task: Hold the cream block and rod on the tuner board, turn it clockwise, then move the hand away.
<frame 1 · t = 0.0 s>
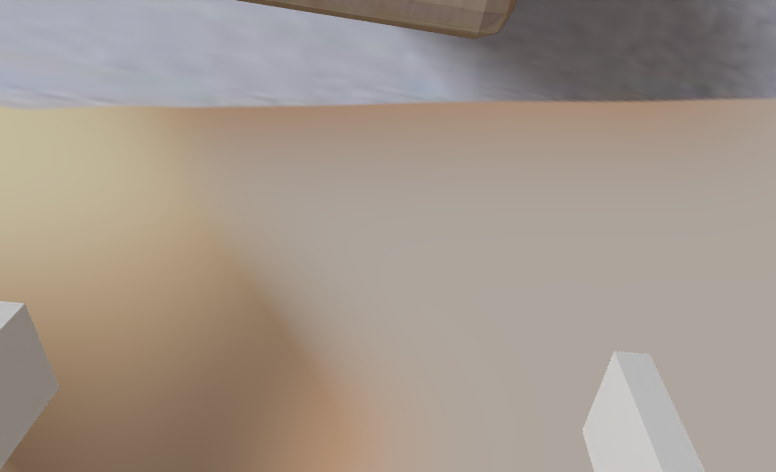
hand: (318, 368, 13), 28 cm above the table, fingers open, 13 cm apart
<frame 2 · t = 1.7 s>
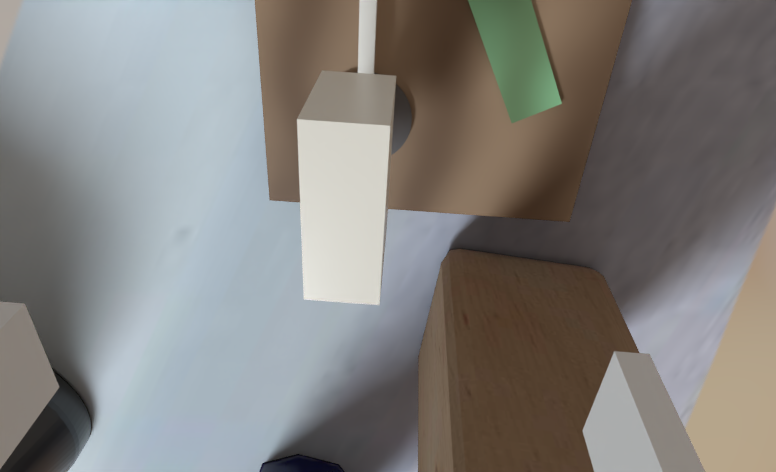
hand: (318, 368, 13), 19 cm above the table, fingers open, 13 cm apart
tuner board: (433, 45, 26), on the table
cream block and rod: (357, 84, 20), point 8 cm above the table, hinge at 0.0°
wooden block: (503, 310, 36), on the table
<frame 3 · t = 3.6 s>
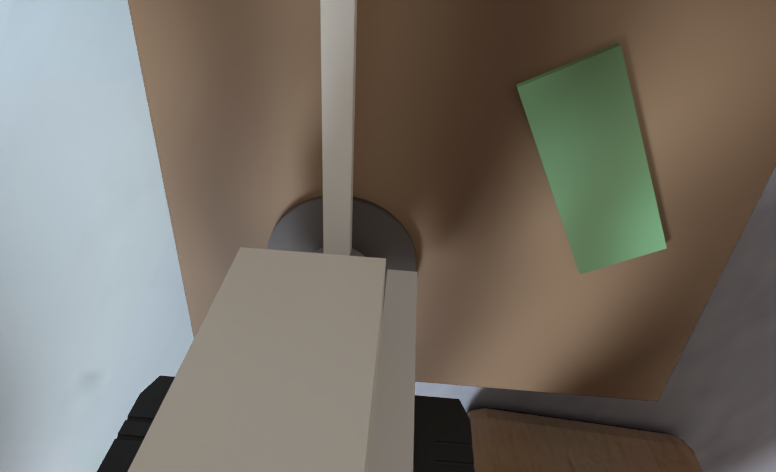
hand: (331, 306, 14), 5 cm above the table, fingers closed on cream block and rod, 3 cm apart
tuner board: (451, 141, 16), on the table
cream block and rod: (308, 280, 10), point 8 cm above the table, hinge at 0.0°, touching gripper
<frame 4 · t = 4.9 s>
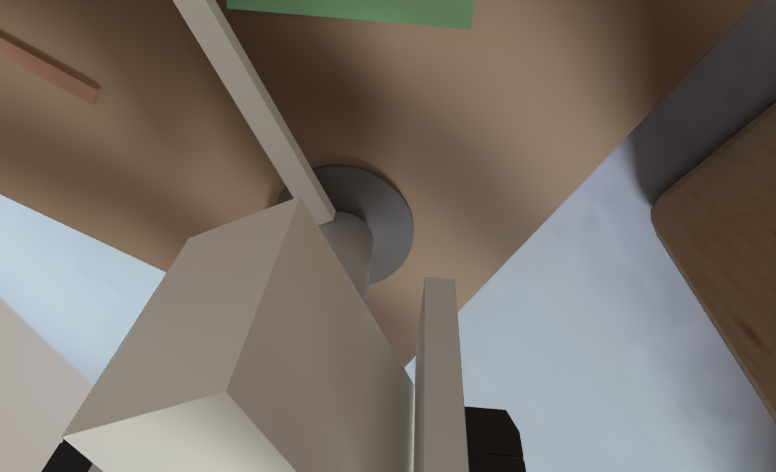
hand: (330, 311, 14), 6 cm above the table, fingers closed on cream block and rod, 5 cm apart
tuner board: (316, 71, 17), on the table
cream block and rod: (241, 241, 11), point 8 cm above the table, hinge at -34.2°, touching gripper
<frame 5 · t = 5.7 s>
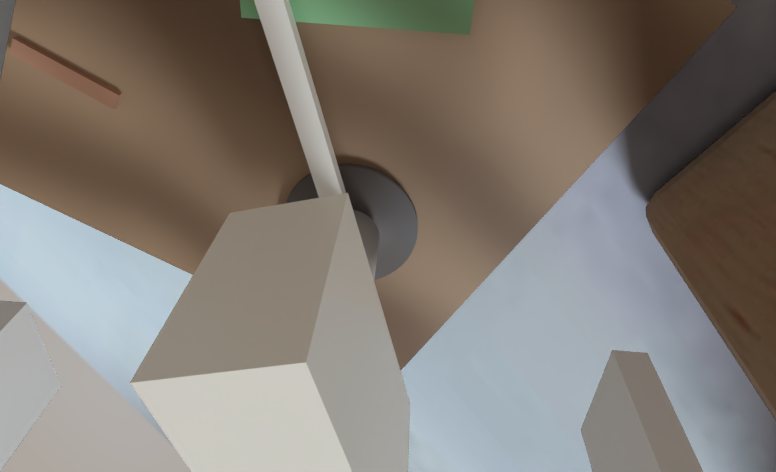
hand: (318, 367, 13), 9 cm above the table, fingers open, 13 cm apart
tuner board: (323, 76, 18), on the table
cream block and rod: (285, 225, 12), point 8 cm above the table, hinge at -46.2°
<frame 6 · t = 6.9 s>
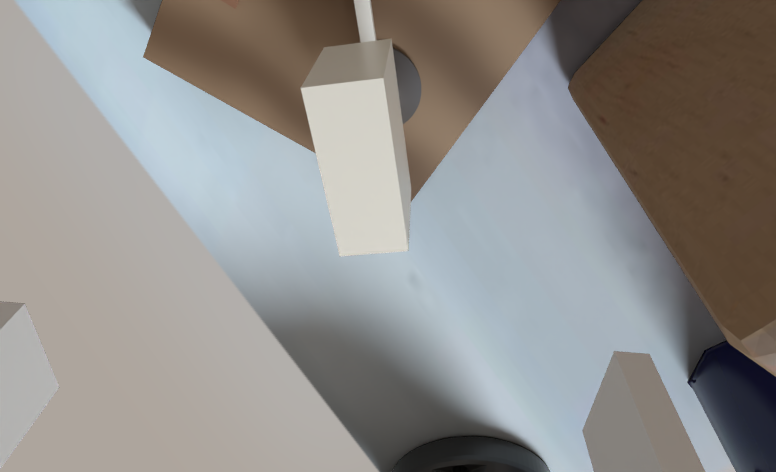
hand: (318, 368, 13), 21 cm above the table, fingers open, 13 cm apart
bottle: (751, 369, 41), on the table
cream block and rod: (357, 52, 22), point 8 cm above the table, hinge at -50.9°
wooden block: (692, 62, 29), on the table
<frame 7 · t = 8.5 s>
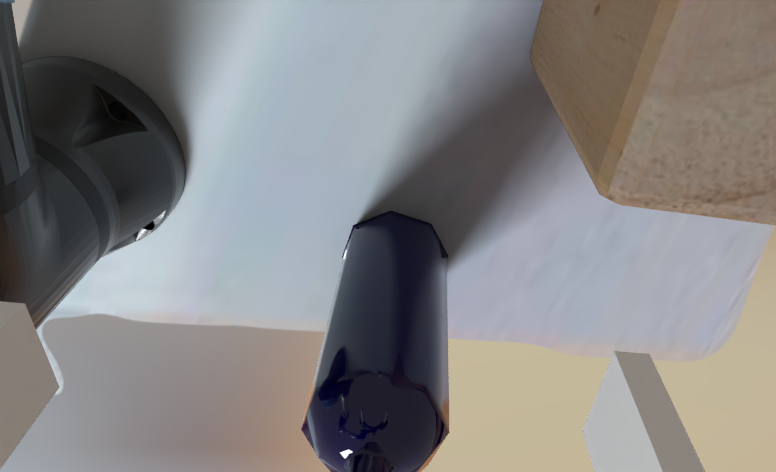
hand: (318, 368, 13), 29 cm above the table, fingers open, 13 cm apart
bottle: (394, 255, 47), on the table
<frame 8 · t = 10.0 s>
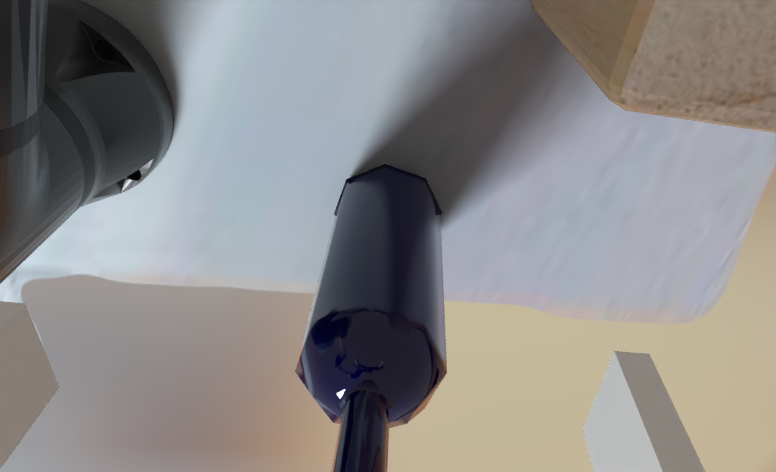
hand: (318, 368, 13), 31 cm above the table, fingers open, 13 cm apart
bottle: (387, 212, 46), on the table
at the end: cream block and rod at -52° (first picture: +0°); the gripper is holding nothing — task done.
